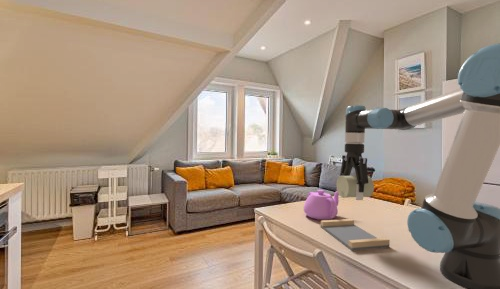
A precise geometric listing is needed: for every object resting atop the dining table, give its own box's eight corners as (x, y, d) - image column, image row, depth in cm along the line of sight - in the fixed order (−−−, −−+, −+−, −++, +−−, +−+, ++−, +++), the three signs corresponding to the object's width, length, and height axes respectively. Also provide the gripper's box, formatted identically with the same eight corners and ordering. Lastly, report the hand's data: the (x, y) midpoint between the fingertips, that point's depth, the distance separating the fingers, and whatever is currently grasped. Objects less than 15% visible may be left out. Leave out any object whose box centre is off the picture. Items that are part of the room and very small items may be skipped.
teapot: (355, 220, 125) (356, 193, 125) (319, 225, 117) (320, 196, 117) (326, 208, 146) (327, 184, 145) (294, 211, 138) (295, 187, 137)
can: (360, 196, 110) (335, 197, 107) (359, 175, 111) (334, 175, 108) (374, 198, 101) (348, 199, 98) (373, 175, 102) (346, 175, 99)
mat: (389, 247, 95) (389, 239, 94) (351, 250, 91) (351, 242, 91) (351, 225, 118) (351, 218, 118) (320, 227, 115) (320, 220, 115)
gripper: (380, 144, 94) (378, 203, 95) (347, 142, 115) (345, 190, 116) (363, 144, 92) (360, 204, 93) (332, 142, 113) (331, 191, 114)
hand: (352, 196), depth 104 cm, fingers closed on can, 9 cm apart
